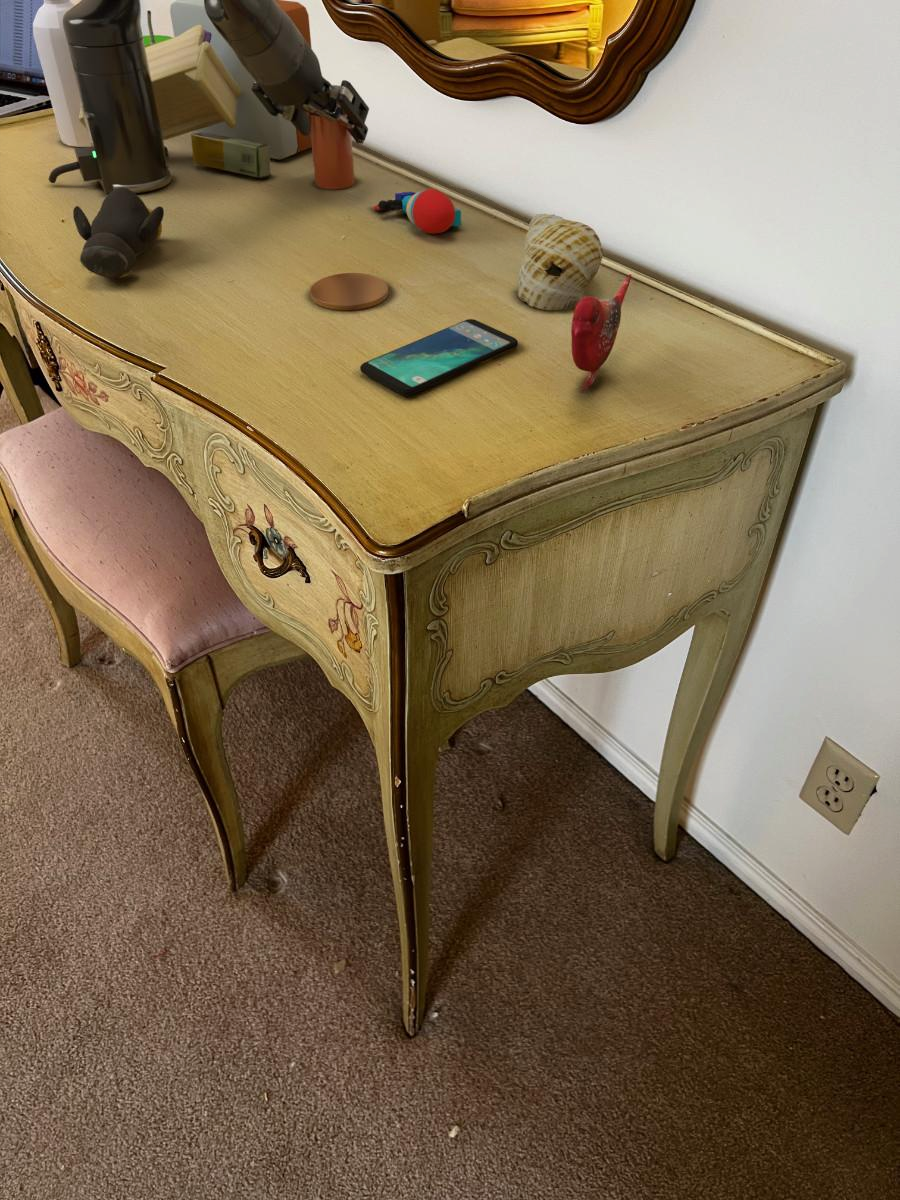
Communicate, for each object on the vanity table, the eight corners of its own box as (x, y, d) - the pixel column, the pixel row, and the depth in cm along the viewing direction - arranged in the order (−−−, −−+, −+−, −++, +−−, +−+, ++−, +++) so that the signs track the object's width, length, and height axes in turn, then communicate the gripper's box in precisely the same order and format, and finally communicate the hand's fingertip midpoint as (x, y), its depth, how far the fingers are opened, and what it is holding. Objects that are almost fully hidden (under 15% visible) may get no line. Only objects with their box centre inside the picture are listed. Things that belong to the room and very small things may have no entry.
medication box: (272, 175, 129) (271, 144, 127) (260, 179, 127) (258, 147, 125) (204, 160, 133) (201, 130, 131) (191, 163, 131) (188, 132, 129)
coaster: (324, 316, 96) (324, 310, 96) (301, 285, 102) (300, 280, 102) (399, 302, 99) (399, 296, 98) (372, 272, 104) (372, 267, 104)
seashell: (551, 315, 95) (527, 213, 91) (507, 322, 103) (484, 229, 100) (631, 289, 98) (611, 190, 95) (582, 299, 106) (562, 208, 103)
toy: (100, 238, 112) (60, 289, 101) (85, 176, 108) (41, 223, 97) (183, 238, 112) (153, 290, 101) (172, 176, 108) (138, 223, 96)
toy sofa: (240, 127, 128) (245, 71, 131) (205, 76, 120) (210, 18, 124) (114, 167, 134) (121, 113, 138) (73, 121, 126) (81, 65, 130)
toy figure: (369, 223, 120) (421, 241, 109) (367, 181, 117) (420, 195, 106) (421, 217, 123) (477, 235, 112) (420, 177, 120) (477, 190, 109)
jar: (322, 191, 125) (314, 101, 117) (310, 179, 128) (301, 91, 121) (360, 186, 126) (354, 96, 119) (347, 174, 130) (340, 87, 122)
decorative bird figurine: (551, 415, 82) (560, 306, 75) (609, 331, 94) (621, 231, 87) (583, 421, 81) (595, 313, 74) (637, 336, 93) (651, 236, 86)
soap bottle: (45, 143, 141) (-8, -46, 125) (92, 128, 147) (48, -55, 131) (84, 152, 137) (36, -41, 121) (131, 136, 143) (91, -50, 127)
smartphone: (521, 339, 90) (405, 392, 83) (521, 347, 91) (406, 399, 83) (470, 316, 94) (355, 364, 87) (470, 323, 95) (356, 372, 87)
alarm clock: (322, 147, 138) (308, -16, 125) (284, 162, 133) (265, -6, 119) (230, 128, 146) (207, -28, 132) (190, 142, 140) (162, -19, 127)
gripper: (336, 27, 106) (390, 112, 121) (234, 17, 111) (299, 100, 126) (316, 90, 106) (372, 167, 121) (215, 77, 111) (282, 153, 126)
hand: (335, 133), depth 123 cm, fingers open, 8 cm apart
